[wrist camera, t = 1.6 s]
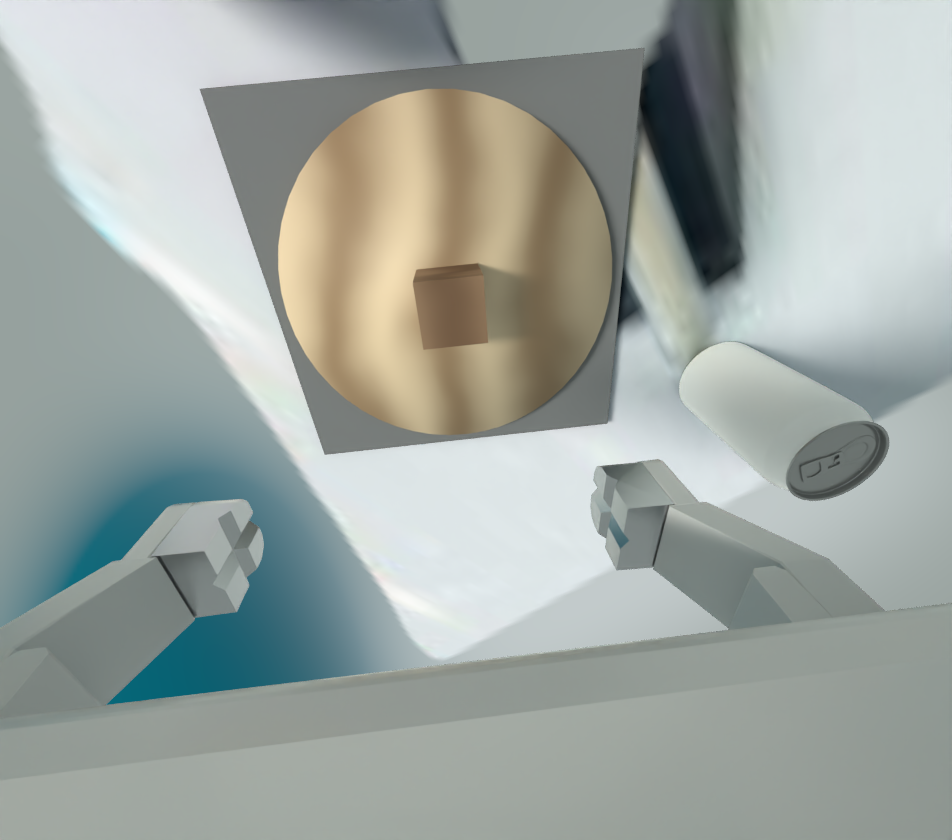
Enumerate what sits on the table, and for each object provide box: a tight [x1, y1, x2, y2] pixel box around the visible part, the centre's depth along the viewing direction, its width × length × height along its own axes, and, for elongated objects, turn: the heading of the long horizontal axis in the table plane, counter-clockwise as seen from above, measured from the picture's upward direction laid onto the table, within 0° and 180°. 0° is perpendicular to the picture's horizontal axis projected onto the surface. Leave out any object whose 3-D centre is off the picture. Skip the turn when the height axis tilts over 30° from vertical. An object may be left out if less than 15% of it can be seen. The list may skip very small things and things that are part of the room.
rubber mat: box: [200, 48, 644, 455], centre depth 28 cm, size 24×24×1 cm
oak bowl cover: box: [278, 89, 612, 435], centre depth 26 cm, size 22×22×5 cm
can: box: [679, 342, 889, 501], centre depth 28 cm, size 6×6×12 cm
